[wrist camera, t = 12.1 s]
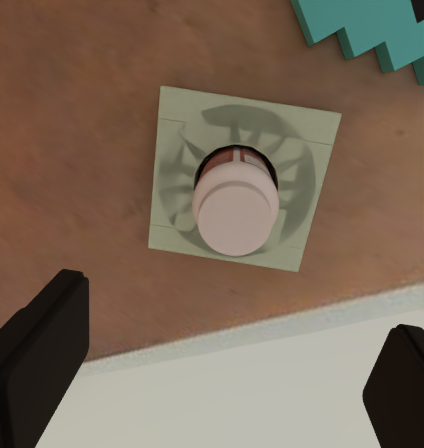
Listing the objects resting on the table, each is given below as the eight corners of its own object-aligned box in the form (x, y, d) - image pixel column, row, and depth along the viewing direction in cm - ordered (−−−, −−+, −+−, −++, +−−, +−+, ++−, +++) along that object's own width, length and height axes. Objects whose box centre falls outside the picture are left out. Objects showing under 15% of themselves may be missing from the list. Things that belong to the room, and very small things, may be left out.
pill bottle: (203, 210, 32) (186, 266, 22) (201, 145, 30) (181, 174, 19) (268, 210, 31) (282, 268, 21) (270, 144, 29) (288, 173, 19)
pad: (168, 86, 28) (160, 85, 25) (331, 111, 28) (342, 113, 25) (155, 234, 33) (147, 248, 31) (293, 257, 33) (298, 272, 30)
